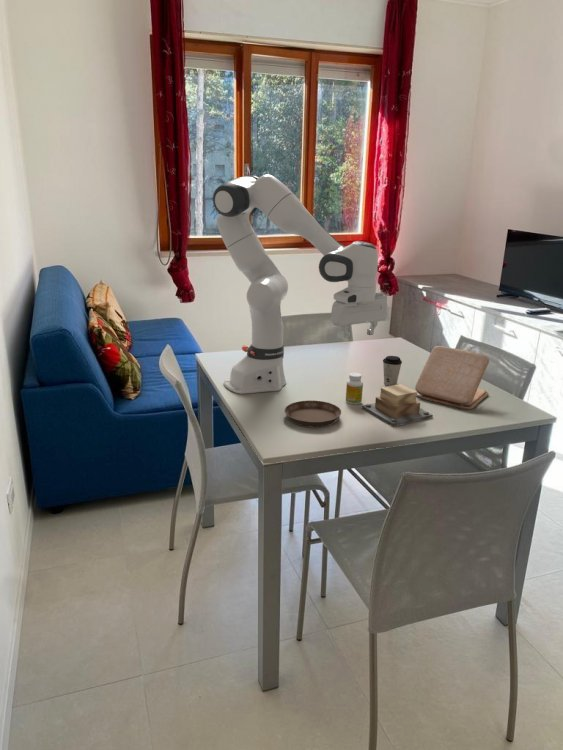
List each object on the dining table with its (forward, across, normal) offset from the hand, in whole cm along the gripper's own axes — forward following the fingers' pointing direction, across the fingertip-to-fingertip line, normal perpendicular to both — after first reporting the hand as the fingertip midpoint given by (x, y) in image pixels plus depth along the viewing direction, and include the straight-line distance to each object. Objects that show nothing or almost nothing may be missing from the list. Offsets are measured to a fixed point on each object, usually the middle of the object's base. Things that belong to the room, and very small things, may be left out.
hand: (358, 336), depth 190 cm
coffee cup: (+23, -23, -9) cm, 34 cm away
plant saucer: (+23, +20, +6) cm, 31 cm away
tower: (+23, -7, +14) cm, 28 cm away
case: (+23, -35, +10) cm, 43 cm away
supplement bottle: (+23, 0, 0) cm, 23 cm away
